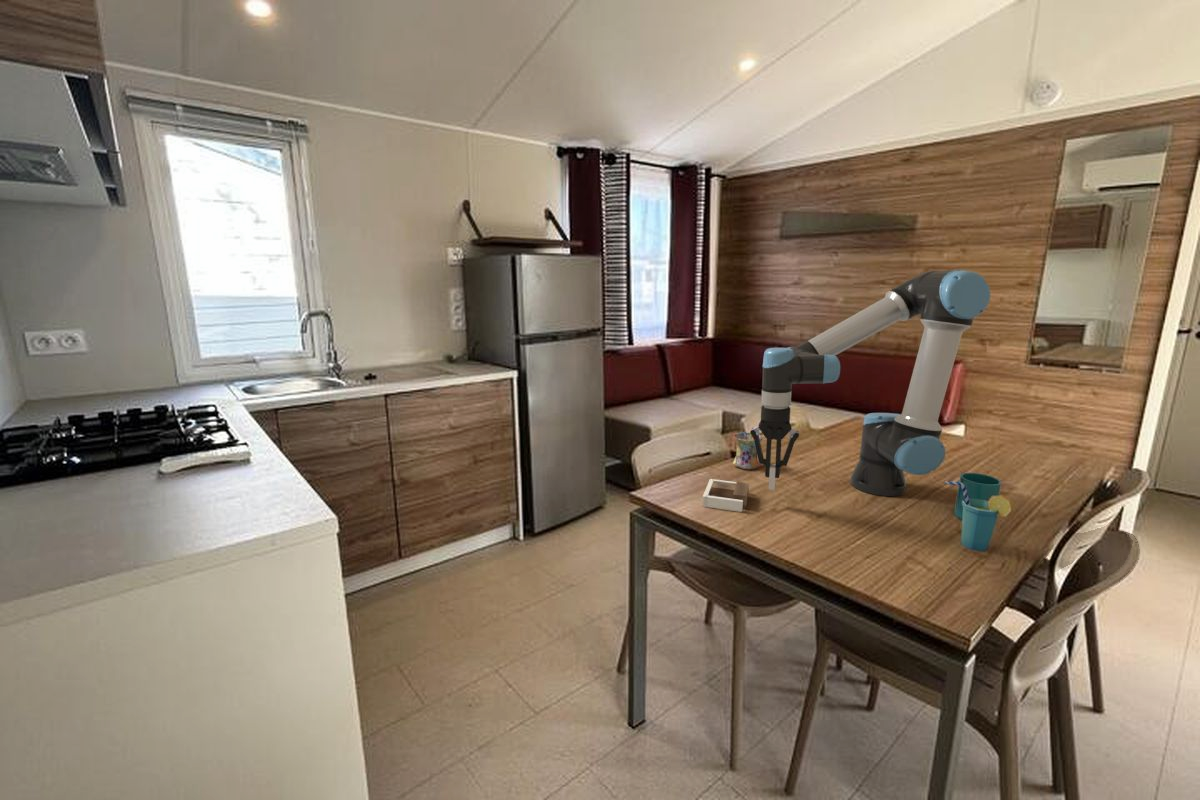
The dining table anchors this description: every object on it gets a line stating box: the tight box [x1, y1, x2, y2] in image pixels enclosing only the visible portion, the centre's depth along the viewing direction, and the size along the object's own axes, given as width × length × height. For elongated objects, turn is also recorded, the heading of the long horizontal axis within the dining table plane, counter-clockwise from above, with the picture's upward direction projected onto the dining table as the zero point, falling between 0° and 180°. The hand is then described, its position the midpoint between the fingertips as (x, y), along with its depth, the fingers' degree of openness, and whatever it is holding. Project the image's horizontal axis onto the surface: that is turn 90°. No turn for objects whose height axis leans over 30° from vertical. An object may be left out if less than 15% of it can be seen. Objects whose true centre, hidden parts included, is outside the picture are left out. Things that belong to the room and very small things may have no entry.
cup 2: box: [944, 480, 1014, 552], centre depth 129 cm, size 14×8×15 cm, turn 47°
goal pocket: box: [701, 478, 743, 513], centre depth 156 cm, size 11×14×3 cm
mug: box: [732, 431, 763, 470], centre depth 184 cm, size 12×9×11 cm
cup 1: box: [953, 472, 1002, 520], centre depth 145 cm, size 9×12×11 cm
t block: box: [711, 481, 750, 511], centre depth 156 cm, size 10×10×4 cm
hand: (771, 488), depth 152 cm, fingers closed
